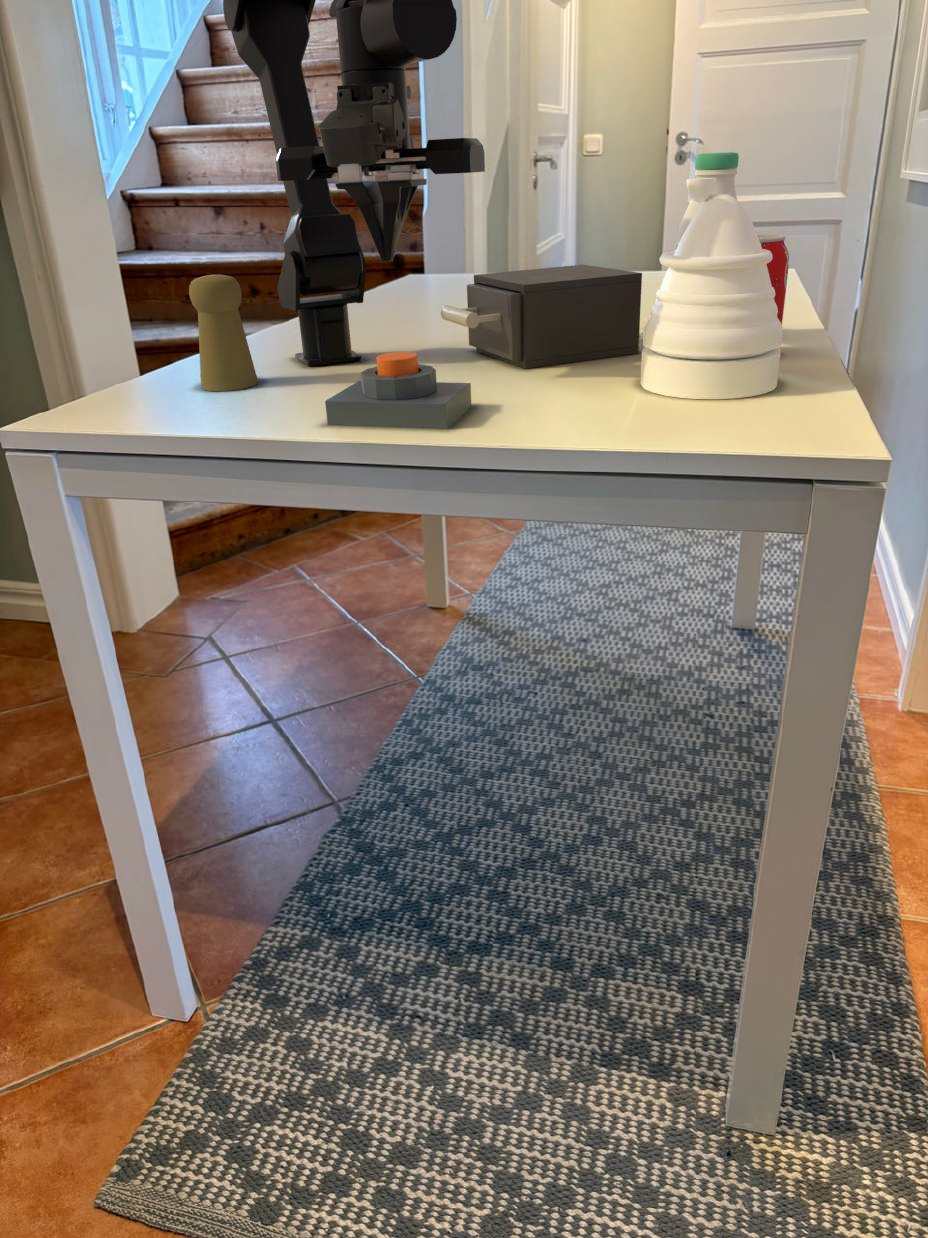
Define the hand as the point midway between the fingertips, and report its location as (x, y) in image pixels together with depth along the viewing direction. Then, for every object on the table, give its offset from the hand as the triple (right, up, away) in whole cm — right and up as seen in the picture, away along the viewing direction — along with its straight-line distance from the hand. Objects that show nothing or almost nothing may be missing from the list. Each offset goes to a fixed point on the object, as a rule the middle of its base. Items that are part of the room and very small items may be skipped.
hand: (387, 260), depth 87 cm
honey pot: (+31, -12, +1) cm, 33 cm away
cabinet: (+18, -3, +18) cm, 26 cm away
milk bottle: (+36, -1, +21) cm, 42 cm away
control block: (+2, -16, -6) cm, 17 cm away
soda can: (+38, -6, +12) cm, 41 cm away
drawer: (+15, -3, +16) cm, 22 cm away
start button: (+2, -13, -7) cm, 15 cm away
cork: (-18, -10, +9) cm, 22 cm away
